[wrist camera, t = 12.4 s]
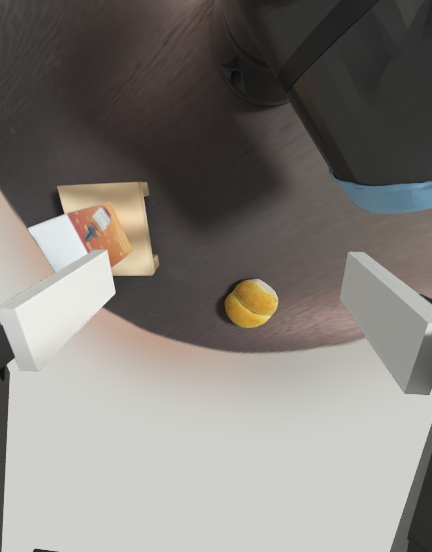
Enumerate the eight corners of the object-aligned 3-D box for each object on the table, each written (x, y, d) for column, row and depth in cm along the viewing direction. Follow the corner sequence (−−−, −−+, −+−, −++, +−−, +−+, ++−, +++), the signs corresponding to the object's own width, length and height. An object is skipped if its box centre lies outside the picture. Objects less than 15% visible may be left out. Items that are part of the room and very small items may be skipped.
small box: (135, 251, 41) (101, 278, 31) (103, 261, 42) (62, 290, 32) (111, 200, 38) (66, 212, 29) (78, 212, 39) (25, 228, 30)
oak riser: (73, 184, 42) (57, 186, 38) (147, 180, 41) (137, 182, 37) (93, 267, 47) (81, 276, 44) (159, 266, 46) (152, 275, 42)
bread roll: (217, 306, 48) (215, 317, 45) (248, 269, 45) (248, 279, 41) (253, 330, 50) (254, 343, 46) (285, 296, 46) (289, 308, 43)
